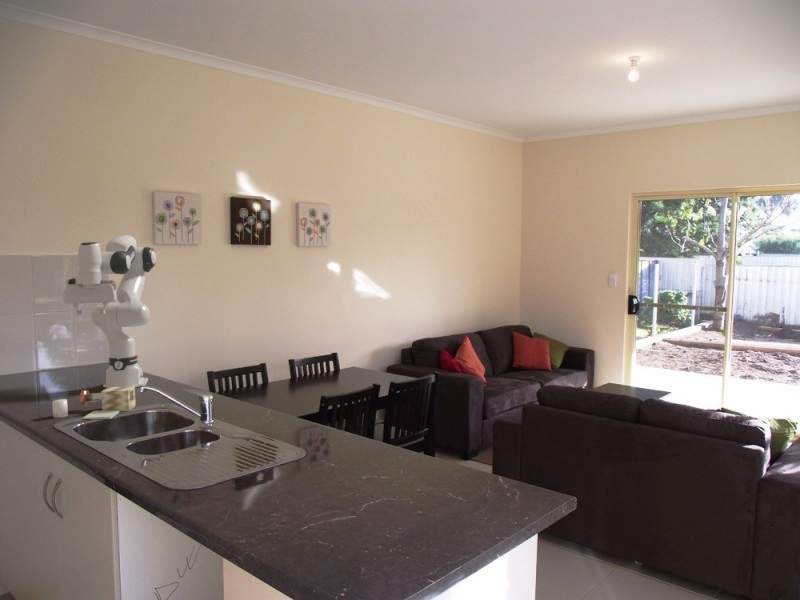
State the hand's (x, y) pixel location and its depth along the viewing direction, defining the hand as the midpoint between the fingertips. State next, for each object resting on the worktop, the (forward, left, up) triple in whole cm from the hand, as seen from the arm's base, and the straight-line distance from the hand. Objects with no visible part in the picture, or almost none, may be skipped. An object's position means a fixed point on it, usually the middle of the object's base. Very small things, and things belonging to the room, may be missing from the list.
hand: (90, 314), depth 258 cm
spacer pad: (+23, +11, -37) cm, 45 cm away
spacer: (+21, -5, -37) cm, 43 cm away
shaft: (+13, +6, -35) cm, 38 cm away
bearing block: (+13, +14, -37) cm, 42 cm away
